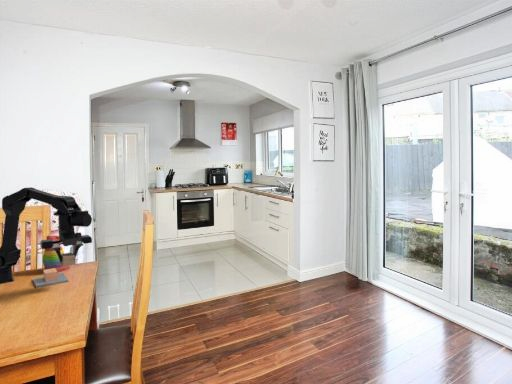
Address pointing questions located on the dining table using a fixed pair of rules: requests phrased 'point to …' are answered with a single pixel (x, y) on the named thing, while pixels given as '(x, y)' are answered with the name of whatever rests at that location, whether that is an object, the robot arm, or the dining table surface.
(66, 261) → the walnut brick
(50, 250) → the stacking bear
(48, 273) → the terracotta brick
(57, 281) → the baseplate
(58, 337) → the dining table surface
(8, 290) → the dining table surface
